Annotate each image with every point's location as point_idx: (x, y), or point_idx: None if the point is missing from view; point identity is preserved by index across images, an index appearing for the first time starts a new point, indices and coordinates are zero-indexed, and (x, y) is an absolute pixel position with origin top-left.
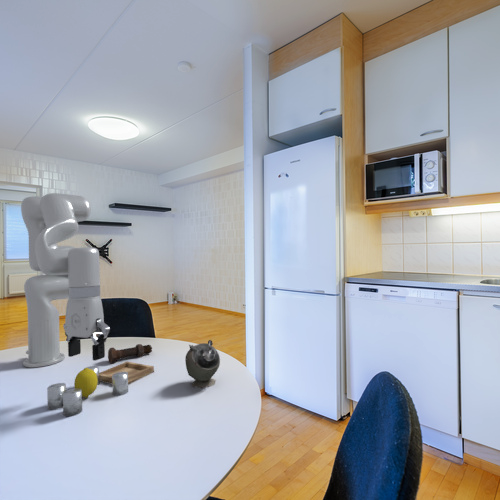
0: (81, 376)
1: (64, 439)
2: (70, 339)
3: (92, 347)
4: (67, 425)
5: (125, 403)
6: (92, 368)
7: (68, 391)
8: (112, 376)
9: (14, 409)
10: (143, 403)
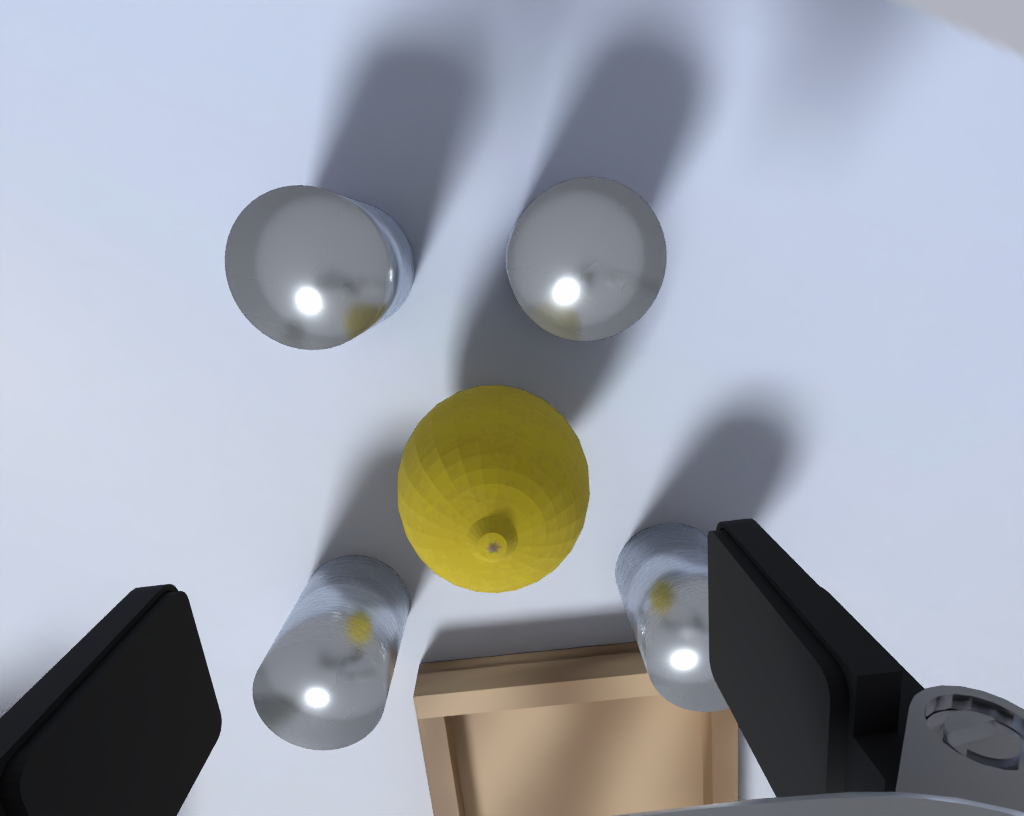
0: (451, 452)
1: (8, 26)
2: (898, 754)
3: (16, 734)
4: (190, 142)
5: (166, 523)
6: (697, 660)
7: (349, 255)
8: (339, 642)
9: (819, 48)
10: (64, 580)
